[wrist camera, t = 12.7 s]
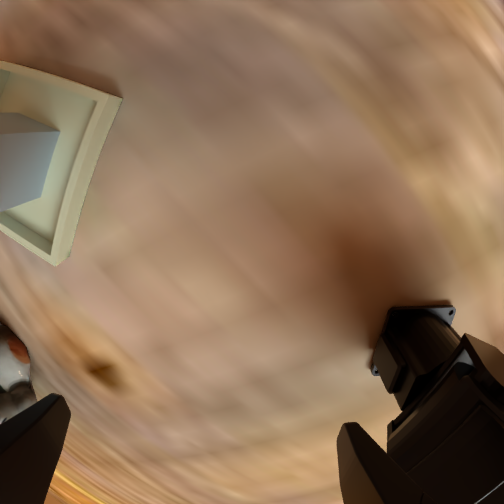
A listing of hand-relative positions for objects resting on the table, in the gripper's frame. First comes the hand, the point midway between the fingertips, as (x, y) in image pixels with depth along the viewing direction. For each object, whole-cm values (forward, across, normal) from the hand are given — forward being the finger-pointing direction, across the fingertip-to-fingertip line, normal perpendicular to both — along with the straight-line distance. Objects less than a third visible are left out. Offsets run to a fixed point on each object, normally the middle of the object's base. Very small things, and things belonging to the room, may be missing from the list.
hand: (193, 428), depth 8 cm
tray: (+13, +15, -8) cm, 21 cm away
